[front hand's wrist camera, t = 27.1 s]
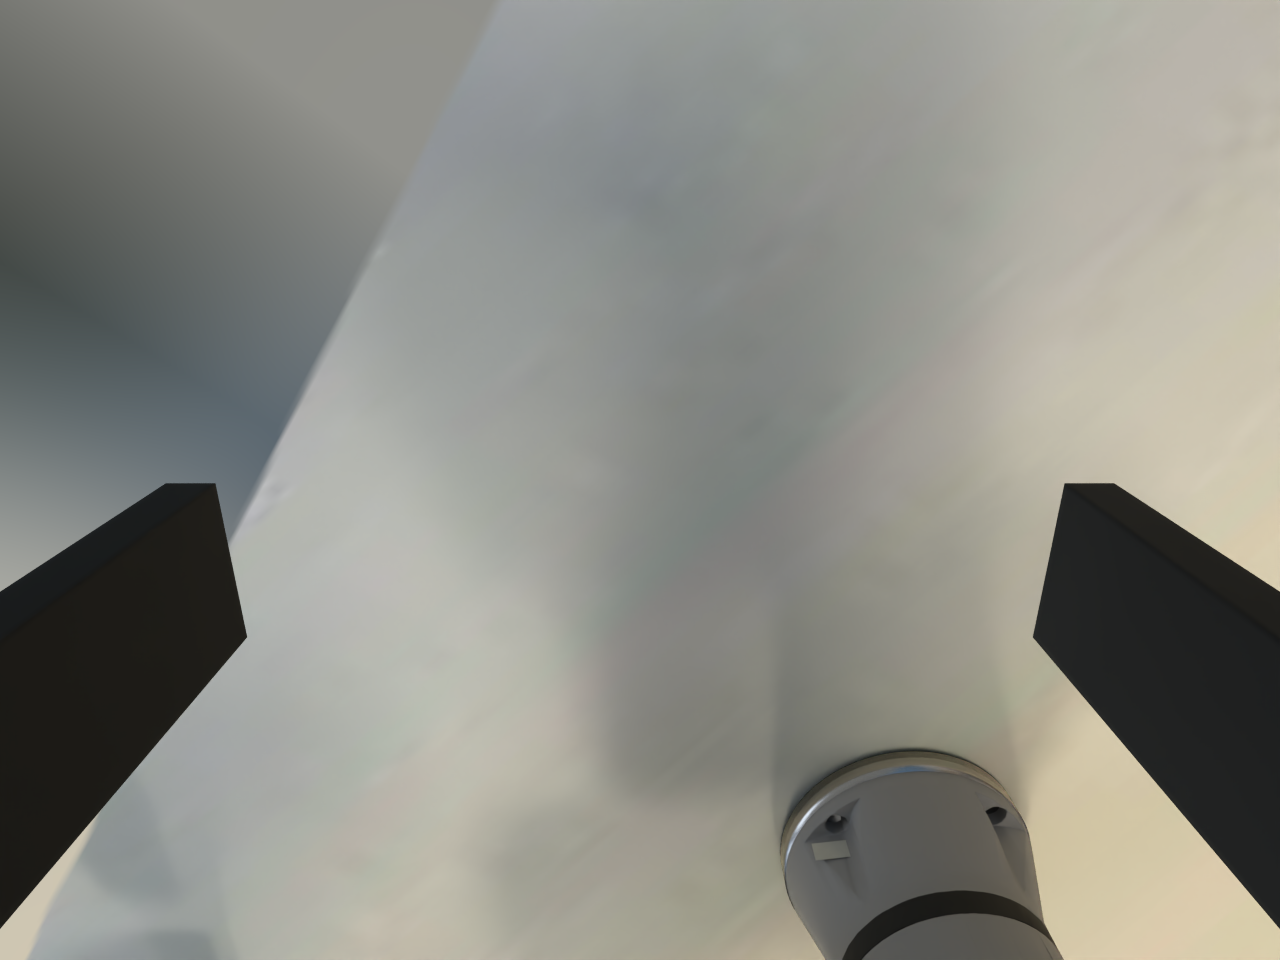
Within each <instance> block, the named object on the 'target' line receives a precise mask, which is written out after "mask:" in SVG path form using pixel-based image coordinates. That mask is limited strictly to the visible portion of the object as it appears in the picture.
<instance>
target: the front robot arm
mask: <svg viewBox="0 0 1280 960" xmlns="http://www.w3.org/2000/svg"><path fill="white" fill-rule="evenodd" d="M246 638H247V634H246V629H245V625H244V620H243V615H242V610H241V605H240V600H239V596H238V591H237V586H236V581H235V576H234V571H233V567H232V562H231V557H230V552H229V547H228V542H227V537H226V533H225V528H224V523H223V518H222V513H221V509H220V504H219V499H218V494H217V489H216V484H215V483H166V484H164V485H163V486H161V487H160V488H158V489H157V490H155V491H153V492H152V493H151V494H149V495H147V496H146V497H144V498H143V499H141V500H140V501H138V502H137V503H135V504H134V505H132V506H131V507H129V508H128V509H126V510H124V511H123V512H121V513H120V514H118V515H117V516H115V517H114V518H112V519H111V520H109V521H108V522H106V523H105V524H103V525H102V526H100V527H98V528H97V529H95V530H94V531H92V532H91V533H89V534H88V535H86V536H85V537H83V538H82V539H80V540H79V541H77V542H76V543H74V544H72V545H71V546H69V547H68V548H66V549H65V550H63V551H62V552H60V553H59V554H57V555H56V556H54V557H53V558H51V559H50V560H48V561H47V562H45V563H43V564H42V565H40V566H39V567H37V568H36V569H34V570H33V571H31V572H30V573H28V574H27V575H25V576H24V577H22V578H21V579H19V580H18V581H16V582H14V583H13V584H11V585H10V586H8V587H7V588H5V589H4V590H2V591H1V592H0V928H1V927H2V926H3V925H4V924H5V922H6V921H7V920H8V919H9V918H10V917H11V915H12V914H13V913H14V912H15V911H16V909H17V908H18V907H19V906H20V905H21V904H22V902H23V901H24V900H25V899H26V898H27V896H28V895H29V894H30V893H31V892H32V891H33V889H34V888H35V887H36V886H37V885H38V884H39V882H40V881H41V880H42V879H43V878H44V876H45V875H46V874H47V873H48V872H49V871H50V869H51V868H52V867H53V866H54V865H55V863H56V862H57V861H58V860H59V859H60V857H61V856H62V855H63V854H64V853H65V852H66V850H67V849H68V848H69V847H70V846H71V845H72V843H73V842H74V841H75V840H76V839H77V837H78V836H79V835H80V834H81V833H82V831H83V830H84V829H85V828H86V827H87V826H88V824H89V823H90V822H91V821H92V820H93V819H94V817H95V816H96V815H97V814H98V813H99V811H100V810H101V809H102V808H103V807H104V806H105V804H106V803H107V802H108V801H109V800H110V798H111V797H112V796H113V795H114V794H115V793H116V791H117V790H118V789H119V788H120V787H121V785H122V784H123V783H124V782H125V781H126V780H127V778H128V777H129V776H130V775H131V774H132V773H133V771H134V770H135V769H136V768H137V767H138V765H139V764H140V763H141V762H142V761H143V760H144V758H145V757H146V756H147V755H148V754H149V752H150V751H151V750H152V749H153V748H154V747H155V745H156V744H157V743H158V742H159V741H160V739H161V738H162V737H163V736H164V735H165V734H166V732H167V731H168V730H169V729H170V728H171V726H172V725H173V724H174V723H175V722H176V721H177V719H178V718H179V717H180V716H181V715H182V713H183V712H184V711H185V710H186V709H187V708H188V706H189V705H190V704H191V703H192V702H193V700H194V699H195V698H196V697H197V696H198V695H199V693H200V692H201V691H202V690H203V689H204V687H205V686H206V685H207V684H208V683H209V682H210V680H211V679H212V678H213V677H214V676H215V674H216V673H217V672H218V671H219V670H220V669H221V667H222V666H223V665H224V664H225V663H226V662H227V660H228V659H229V658H230V657H231V656H232V654H233V653H234V652H235V651H236V650H237V649H238V647H239V646H240V645H241V644H242V643H243V641H244V640H245V639H246ZM1033 638H1034V639H1035V640H1036V641H1037V643H1038V644H1039V645H1040V646H1041V647H1042V649H1043V650H1044V651H1045V652H1046V653H1047V654H1048V656H1049V657H1050V658H1051V659H1052V660H1053V662H1054V663H1055V664H1056V665H1057V666H1058V667H1059V669H1060V670H1061V671H1062V672H1063V673H1064V674H1065V676H1066V677H1067V678H1068V679H1069V680H1070V682H1071V683H1072V684H1073V685H1074V686H1075V687H1076V689H1077V690H1078V691H1079V692H1080V693H1081V695H1082V696H1083V697H1084V698H1085V699H1086V700H1087V702H1088V703H1089V704H1090V705H1091V706H1092V708H1093V709H1094V710H1095V711H1096V712H1097V713H1098V715H1099V716H1100V717H1101V718H1102V719H1103V721H1104V722H1105V723H1106V724H1107V725H1108V726H1109V728H1110V729H1111V730H1112V731H1113V732H1114V734H1115V735H1116V736H1117V737H1118V738H1119V739H1120V741H1121V742H1122V743H1123V744H1124V745H1125V747H1126V748H1127V749H1128V750H1129V751H1130V752H1131V754H1132V755H1133V756H1134V757H1135V758H1136V760H1137V761H1138V762H1139V763H1140V764H1141V765H1142V767H1143V768H1144V769H1145V770H1146V771H1147V773H1148V774H1149V775H1150V776H1151V777H1152V778H1153V780H1154V781H1155V782H1156V783H1157V784H1158V785H1159V787H1160V788H1161V789H1162V790H1163V791H1164V793H1165V794H1166V795H1167V796H1168V797H1169V798H1170V800H1171V801H1172V802H1173V803H1174V804H1175V806H1176V807H1177V808H1178V809H1179V810H1180V811H1181V813H1182V814H1183V815H1184V816H1185V817H1186V819H1187V820H1188V821H1189V822H1190V823H1191V824H1192V826H1193V827H1194V828H1195V829H1196V830H1197V832H1198V833H1199V834H1200V835H1201V836H1202V837H1203V839H1204V840H1205V841H1206V842H1207V843H1208V845H1209V846H1210V847H1211V848H1212V849H1213V850H1214V852H1215V853H1216V854H1217V855H1218V856H1219V858H1220V859H1221V860H1222V861H1223V862H1224V863H1225V865H1226V866H1227V867H1228V868H1229V869H1230V871H1231V872H1232V873H1233V874H1234V875H1235V876H1236V878H1237V879H1238V880H1239V881H1240V882H1241V884H1242V885H1243V886H1244V887H1245V888H1246V889H1247V891H1248V892H1249V893H1250V894H1251V895H1252V896H1253V898H1254V899H1255V900H1256V901H1257V902H1258V904H1259V905H1260V906H1261V907H1262V908H1263V909H1264V911H1265V912H1266V913H1267V914H1268V915H1269V917H1270V918H1271V919H1272V920H1273V921H1274V922H1275V924H1276V925H1277V926H1278V927H1279V928H1280V592H1279V591H1278V590H1276V589H1275V588H1273V587H1272V586H1270V585H1269V584H1267V583H1266V582H1264V581H1263V580H1261V579H1260V578H1258V577H1256V576H1255V575H1253V574H1252V573H1250V572H1249V571H1247V570H1246V569H1244V568H1243V567H1241V566H1240V565H1238V564H1237V563H1235V562H1234V561H1232V560H1230V559H1229V558H1227V557H1226V556H1224V555H1223V554H1221V553H1220V552H1218V551H1217V550H1215V549H1214V548H1212V547H1211V546H1209V545H1208V544H1206V543H1204V542H1203V541H1201V540H1200V539H1198V538H1197V537H1195V536H1194V535H1192V534H1191V533H1189V532H1188V531H1186V530H1185V529H1183V528H1182V527H1180V526H1178V525H1177V524H1175V523H1174V522H1172V521H1171V520H1169V519H1168V518H1166V517H1165V516H1163V515H1162V514H1160V513H1159V512H1157V511H1156V510H1154V509H1153V508H1151V507H1149V506H1148V505H1146V504H1145V503H1143V502H1142V501H1140V500H1139V499H1137V498H1136V497H1134V496H1133V495H1131V494H1130V493H1128V492H1127V491H1125V490H1123V489H1122V488H1120V487H1119V486H1117V485H1116V484H1114V483H1065V484H1064V489H1063V494H1062V499H1061V504H1060V508H1059V513H1058V518H1057V523H1056V528H1055V533H1054V537H1053V542H1052V547H1051V552H1050V557H1049V562H1048V567H1047V571H1046V576H1045V581H1044V586H1043V591H1042V596H1041V600H1040V605H1039V610H1038V615H1037V620H1036V625H1035V629H1034V634H1033ZM780 855H781V865H782V870H783V874H784V879H785V884H786V889H787V893H788V896H789V899H790V901H791V903H792V905H793V907H794V909H795V911H796V913H797V915H798V916H799V918H800V919H801V921H802V923H803V924H804V926H805V927H806V929H807V931H808V932H809V934H810V935H811V937H812V939H813V940H814V942H815V943H816V945H817V947H818V948H819V950H820V951H821V953H822V955H823V956H824V958H825V959H826V960H1064V959H1063V957H1062V956H1061V954H1060V952H1059V950H1058V949H1057V947H1056V945H1055V943H1054V941H1053V939H1052V937H1051V936H1050V934H1049V932H1048V930H1047V928H1046V926H1045V924H1044V920H1043V914H1042V908H1041V902H1040V896H1039V889H1038V883H1037V877H1036V871H1035V865H1034V859H1033V853H1032V847H1031V842H1030V838H1029V833H1028V830H1027V827H1026V825H1025V823H1024V821H1023V819H1022V817H1021V815H1020V814H1019V812H1018V810H1017V809H1016V807H1015V805H1014V803H1013V802H1012V800H1011V798H1010V797H1009V795H1008V794H1007V792H1006V791H1005V789H1004V788H1003V787H1002V786H1001V785H1000V784H999V783H998V782H997V781H996V780H995V779H994V778H993V777H992V776H991V775H989V774H988V773H986V772H985V771H984V770H982V769H980V768H979V767H977V766H975V765H973V764H971V763H969V762H967V761H964V760H962V759H959V758H956V757H953V756H949V755H944V754H939V753H933V752H921V751H905V752H894V753H888V754H882V755H878V756H874V757H870V758H866V759H863V760H861V761H858V762H855V763H853V764H850V765H848V766H846V767H844V768H842V769H840V770H838V771H836V772H834V773H833V774H831V775H830V776H828V777H827V778H825V779H824V780H822V781H821V782H820V783H818V784H817V785H816V786H815V787H814V788H813V789H811V790H810V791H809V792H808V793H807V794H806V795H805V796H804V798H803V799H802V800H801V801H800V802H799V804H798V805H797V806H796V808H795V809H794V811H793V812H792V814H791V816H790V817H789V820H788V822H787V824H786V826H785V829H784V833H783V836H782V841H781V851H780Z"/></svg>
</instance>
